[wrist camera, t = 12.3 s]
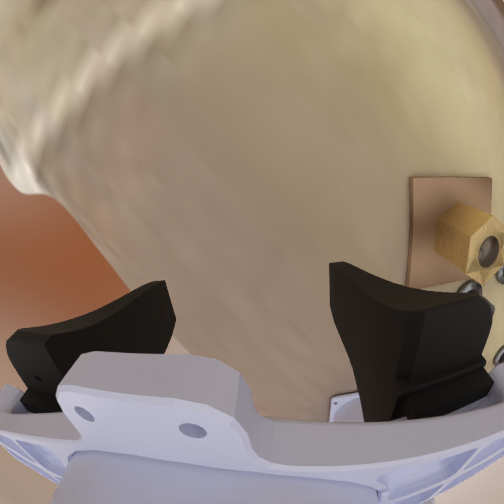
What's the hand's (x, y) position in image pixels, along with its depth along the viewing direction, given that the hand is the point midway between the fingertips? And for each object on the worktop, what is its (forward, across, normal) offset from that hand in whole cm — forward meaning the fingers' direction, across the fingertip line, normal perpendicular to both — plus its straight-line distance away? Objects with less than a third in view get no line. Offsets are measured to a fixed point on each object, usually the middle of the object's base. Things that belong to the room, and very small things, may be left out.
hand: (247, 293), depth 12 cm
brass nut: (+10, -18, +2) cm, 21 cm away
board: (+10, -18, +2) cm, 21 cm away
